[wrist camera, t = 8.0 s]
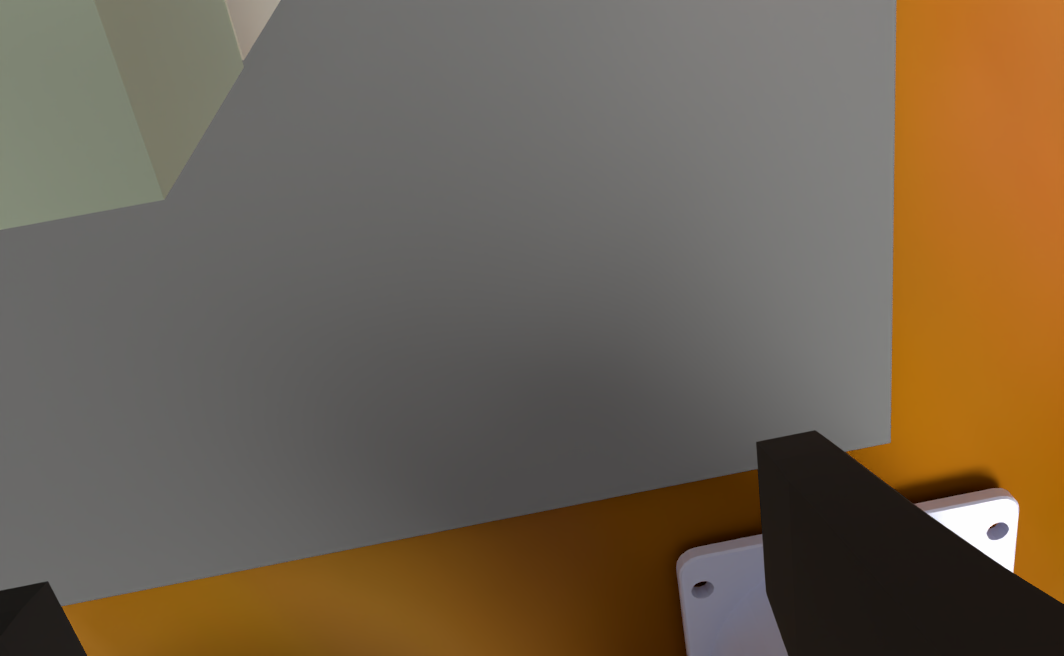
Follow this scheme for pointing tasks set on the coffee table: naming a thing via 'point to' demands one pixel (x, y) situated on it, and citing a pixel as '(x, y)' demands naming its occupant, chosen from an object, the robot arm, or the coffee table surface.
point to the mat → (456, 284)
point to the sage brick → (105, 100)
